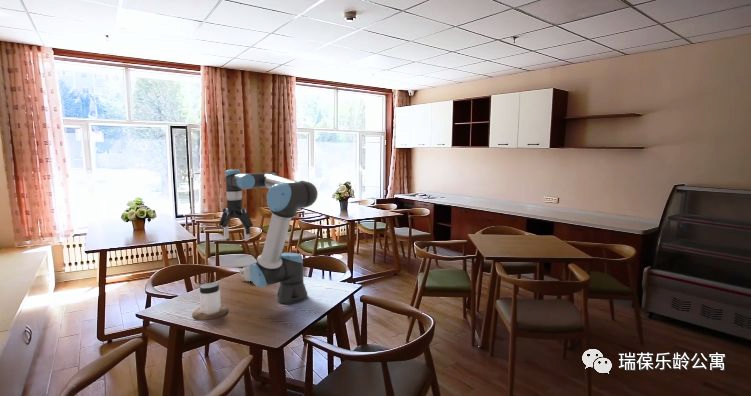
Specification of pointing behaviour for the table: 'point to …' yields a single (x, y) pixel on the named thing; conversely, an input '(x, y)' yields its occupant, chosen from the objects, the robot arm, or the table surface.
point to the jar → (209, 298)
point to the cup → (246, 273)
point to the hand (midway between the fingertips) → (236, 239)
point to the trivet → (202, 316)
